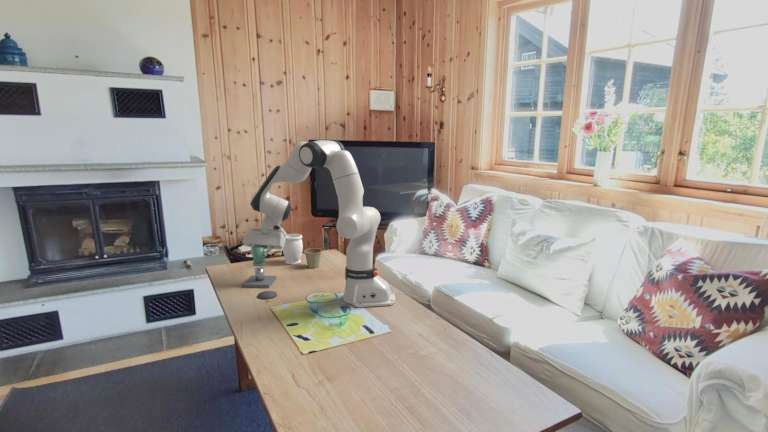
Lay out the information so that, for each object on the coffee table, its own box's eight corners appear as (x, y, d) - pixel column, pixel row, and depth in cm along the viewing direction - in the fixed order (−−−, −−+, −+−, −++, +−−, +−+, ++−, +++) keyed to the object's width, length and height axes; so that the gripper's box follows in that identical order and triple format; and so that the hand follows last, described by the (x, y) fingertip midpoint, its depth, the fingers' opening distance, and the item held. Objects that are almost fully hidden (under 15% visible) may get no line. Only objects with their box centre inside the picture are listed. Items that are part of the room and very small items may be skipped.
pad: (279, 292, 184) (279, 291, 184) (273, 299, 177) (273, 298, 176) (261, 292, 185) (261, 290, 184) (255, 299, 177) (255, 297, 177)
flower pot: (301, 268, 217) (301, 252, 215) (307, 263, 226) (307, 247, 224) (319, 269, 215) (318, 253, 213) (324, 264, 224) (324, 248, 223)
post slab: (276, 278, 201) (276, 275, 201) (268, 287, 189) (268, 284, 189) (251, 278, 202) (251, 275, 201) (242, 287, 190) (242, 284, 189)
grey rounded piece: (266, 277, 198) (265, 266, 197) (262, 282, 192) (261, 271, 191) (257, 277, 198) (257, 266, 197) (253, 282, 192) (252, 270, 191)
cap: (267, 262, 196) (266, 246, 195) (263, 266, 191) (262, 249, 189) (255, 262, 197) (254, 245, 195) (251, 266, 191) (250, 249, 189)
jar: (307, 261, 228) (306, 235, 225) (293, 266, 220) (292, 239, 217) (293, 258, 234) (292, 232, 231) (279, 263, 225) (278, 236, 222)
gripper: (246, 224, 200) (235, 249, 193) (284, 227, 194) (274, 253, 187) (252, 231, 205) (241, 256, 198) (290, 234, 199) (280, 260, 192)
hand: (258, 255), depth 192 cm, fingers closed on cap, 5 cm apart
